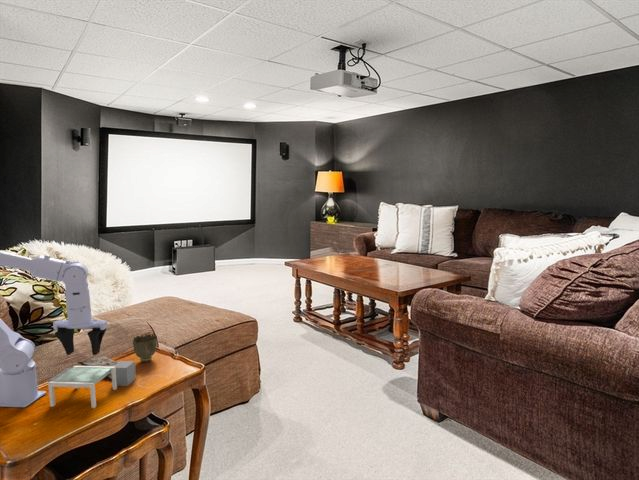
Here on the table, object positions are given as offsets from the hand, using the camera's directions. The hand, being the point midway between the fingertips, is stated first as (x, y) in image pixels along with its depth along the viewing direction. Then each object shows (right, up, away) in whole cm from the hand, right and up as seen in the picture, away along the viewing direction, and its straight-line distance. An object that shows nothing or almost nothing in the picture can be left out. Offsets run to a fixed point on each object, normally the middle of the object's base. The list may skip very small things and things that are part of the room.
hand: (83, 353), depth 118 cm
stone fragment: (-2, -9, +15) cm, 18 cm away
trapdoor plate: (+2, -6, -4) cm, 7 cm away
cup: (+9, -8, +20) cm, 24 cm away
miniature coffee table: (+2, -11, -4) cm, 12 cm away
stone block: (+9, -10, +5) cm, 14 cm away
